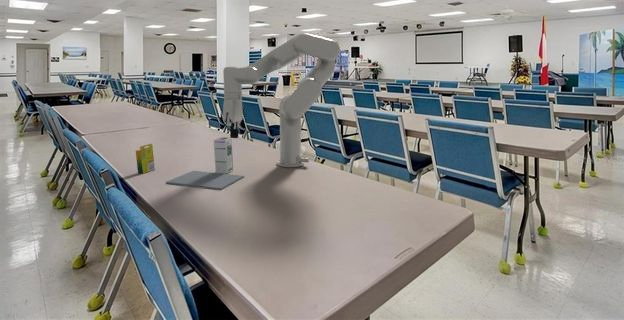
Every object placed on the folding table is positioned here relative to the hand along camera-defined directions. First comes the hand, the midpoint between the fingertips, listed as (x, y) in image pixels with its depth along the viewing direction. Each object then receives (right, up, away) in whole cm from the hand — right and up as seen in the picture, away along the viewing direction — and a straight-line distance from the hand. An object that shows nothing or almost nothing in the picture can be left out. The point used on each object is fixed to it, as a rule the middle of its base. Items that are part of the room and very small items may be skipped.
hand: (234, 137), depth 177 cm
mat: (-7, -18, -19) cm, 27 cm away
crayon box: (-36, -15, -7) cm, 40 cm away
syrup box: (-3, -15, -6) cm, 17 cm away
